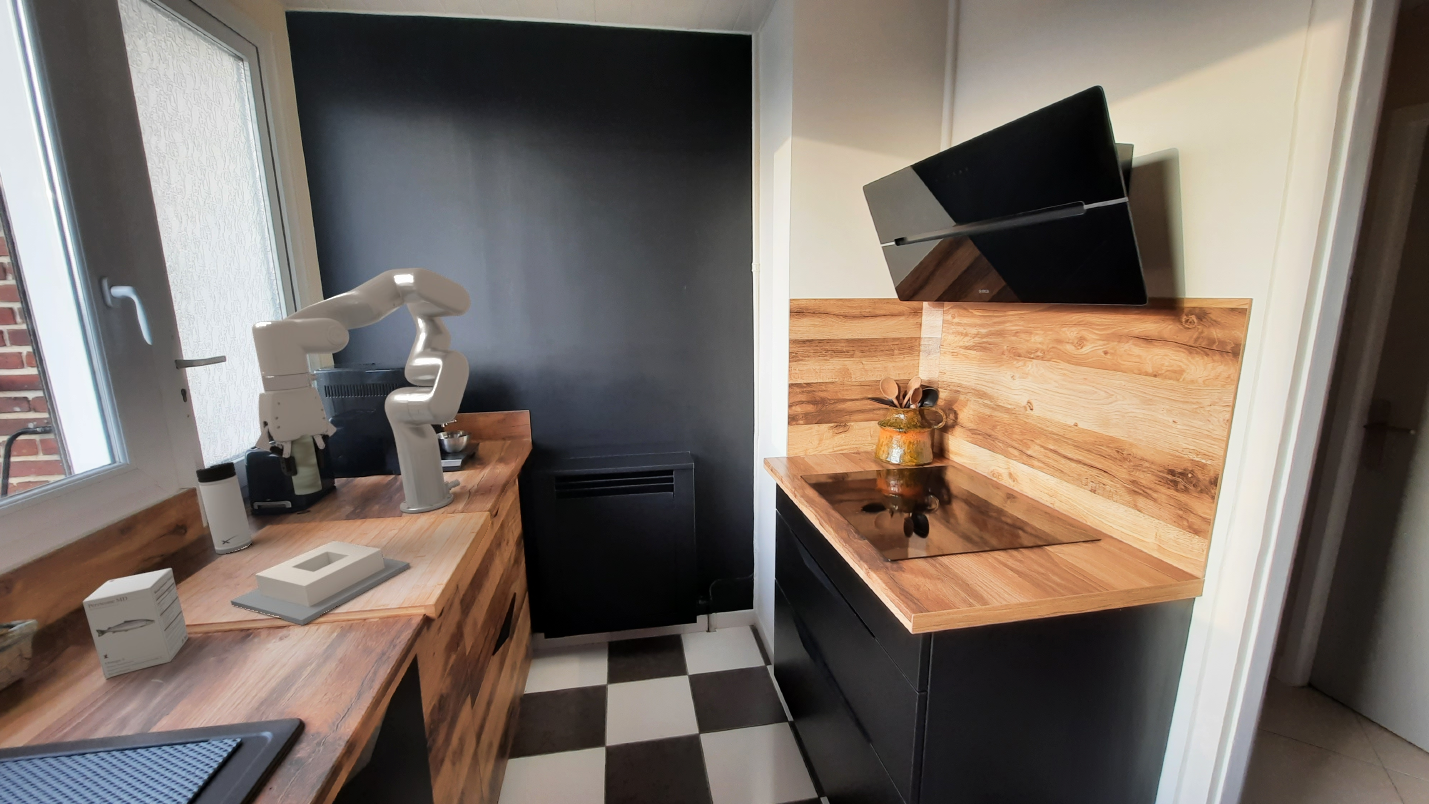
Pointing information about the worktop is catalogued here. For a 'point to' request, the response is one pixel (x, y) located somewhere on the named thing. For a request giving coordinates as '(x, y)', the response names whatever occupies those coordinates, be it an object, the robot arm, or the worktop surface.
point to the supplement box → (136, 622)
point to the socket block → (318, 581)
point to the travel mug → (224, 507)
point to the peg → (305, 466)
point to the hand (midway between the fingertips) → (304, 470)
